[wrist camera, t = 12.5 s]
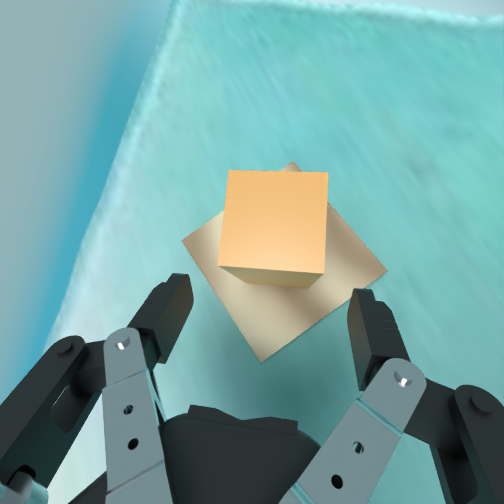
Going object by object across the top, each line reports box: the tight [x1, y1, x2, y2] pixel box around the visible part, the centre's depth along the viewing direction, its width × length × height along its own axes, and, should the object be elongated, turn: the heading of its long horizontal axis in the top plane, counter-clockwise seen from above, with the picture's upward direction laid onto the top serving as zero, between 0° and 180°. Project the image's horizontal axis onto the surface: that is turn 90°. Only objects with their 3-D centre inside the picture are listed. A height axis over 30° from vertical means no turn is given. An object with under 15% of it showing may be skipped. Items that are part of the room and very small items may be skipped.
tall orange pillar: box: [217, 170, 328, 289], centre depth 19 cm, size 5×5×10 cm
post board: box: [182, 161, 387, 363], centre depth 22 cm, size 13×13×8 cm
